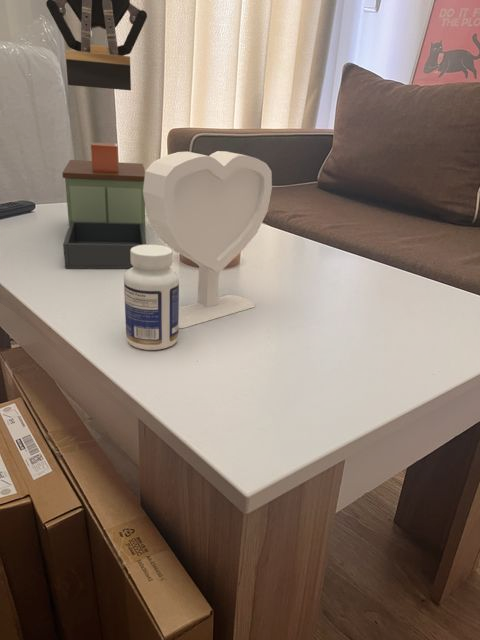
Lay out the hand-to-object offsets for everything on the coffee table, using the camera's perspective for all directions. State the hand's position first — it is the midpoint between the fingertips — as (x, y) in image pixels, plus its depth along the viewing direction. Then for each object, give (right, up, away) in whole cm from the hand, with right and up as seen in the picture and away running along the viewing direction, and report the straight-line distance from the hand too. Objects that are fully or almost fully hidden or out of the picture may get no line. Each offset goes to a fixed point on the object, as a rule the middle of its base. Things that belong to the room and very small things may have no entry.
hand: (101, 86), depth 75 cm
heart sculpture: (+16, -33, -11) cm, 39 cm away
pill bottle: (+12, -37, -20) cm, 44 cm away
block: (-2, -9, +10) cm, 13 cm away
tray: (-1, -23, +5) cm, 24 cm away
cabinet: (-4, -17, +17) cm, 25 cm away
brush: (0, -1, -2) cm, 2 cm away
